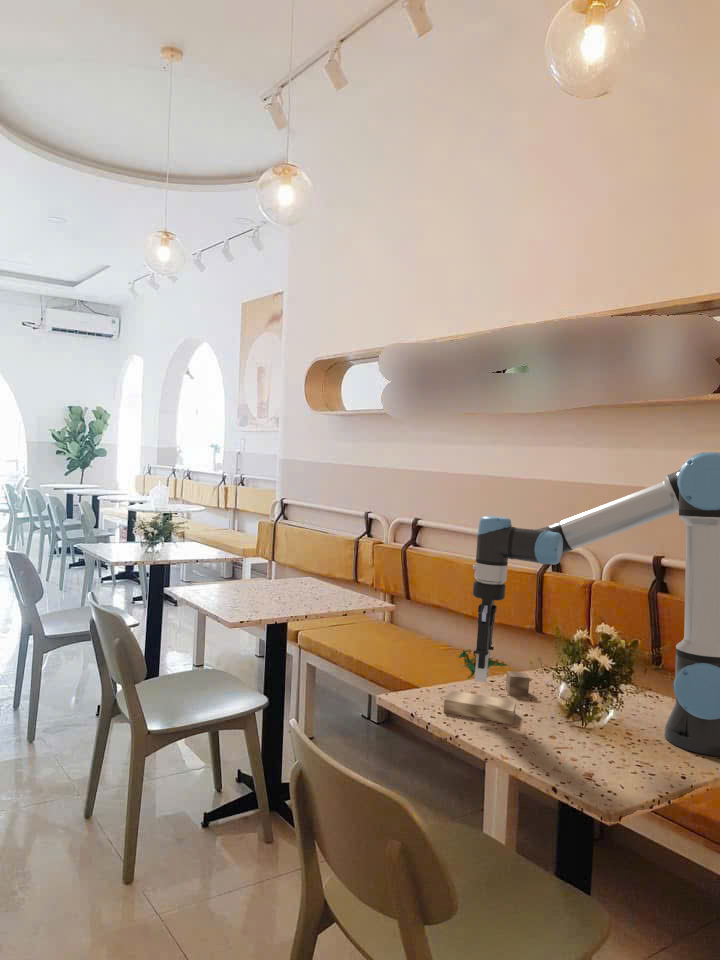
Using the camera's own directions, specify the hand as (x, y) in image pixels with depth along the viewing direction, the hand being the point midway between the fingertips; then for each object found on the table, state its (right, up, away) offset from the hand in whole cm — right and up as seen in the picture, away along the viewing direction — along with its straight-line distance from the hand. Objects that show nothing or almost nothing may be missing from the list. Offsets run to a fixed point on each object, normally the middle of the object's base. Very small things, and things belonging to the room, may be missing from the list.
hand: (481, 678), depth 169 cm
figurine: (0, 0, 0) cm, 1 cm away
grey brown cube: (+12, -9, +18) cm, 24 cm away
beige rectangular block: (0, -8, 0) cm, 8 cm away
